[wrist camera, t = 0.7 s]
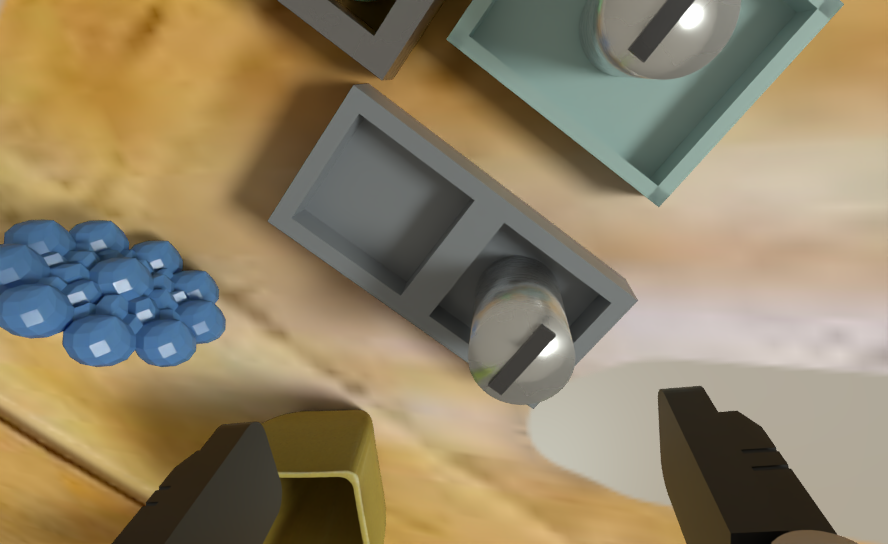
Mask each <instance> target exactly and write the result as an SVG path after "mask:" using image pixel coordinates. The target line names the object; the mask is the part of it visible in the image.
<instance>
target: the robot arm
mask: <svg viewBox="0 0 888 544" xmlns="http://www.w3.org/2000/svg"><path fill="white" fill-rule="evenodd" d="M658 410H659V432H660V453H661V465H662V471H663V477H664V481H665V486H666V489H667V492H668V495H669V498H670V500H671V503H672V506H673V509H674V511H675V514H676V517H677V519H678V522H679V525H680V527H681V530H682V533H683V535H684V538H685V541H686V543H687V544H858V543H856V542H854V541H852V540H849V539H847V538H845V537H842V536H839V535H837V533H836V532H835V531H834V529H833V528H832V526H831V525H830V524H829V522H828V521H827V519H826V518H825V517H824V515H823V514H822V512H821V511H820V509H819V508H818V506H817V505H816V504H815V502H814V501H813V500H812V498H811V497H810V495H809V494H808V492H807V491H806V490H805V488H804V487H803V485H802V484H801V482H800V481H799V479H798V478H797V477H796V475H795V474H794V472H793V471H792V470H791V469H789V468H788V464H787V462H786V461H785V460H784V458H783V457H782V455H781V454H780V452H778V451H777V450H776V447H775V445H774V444H773V442H772V441H771V440H770V438H769V437H768V435H767V434H766V432H765V431H764V430H763V428H762V427H761V426H759V425H758V424H756V423H755V422H753V421H752V420H750V419H749V418H747V417H746V416H744V415H743V414H741V413H740V412H738V411H728V412H718V411H717V410H716V408H715V406H714V405H713V403H712V401H711V400H710V398H709V396H708V395H707V393H706V392H705V390H704V388H703V387H701V386H693V387H682V388H669V389H660V390H659V392H658ZM281 501H282V486H281V481H280V478H279V474H278V471H277V468H276V465H275V461H274V458H273V455H272V452H271V448H270V445H269V442H268V439H267V435H266V432H265V430H264V428H263V426H262V425H261V424H260V423H259V422H247V423H235V424H224V425H221V426H220V427H218V428H217V430H216V431H215V432H214V433H213V435H212V436H211V437H210V438H209V440H208V441H207V442H206V443H205V445H204V446H203V447H202V448H201V450H200V451H196V452H195V453H194V454H192V455H191V456H190V457H188V458H187V459H186V460H184V461H183V462H182V463H180V464H179V465H178V466H176V467H175V468H174V469H173V471H172V472H171V473H170V474H169V475H168V477H167V478H166V479H165V480H164V481H163V483H162V484H161V485H160V486H159V490H156V491H155V492H154V493H153V495H152V496H151V497H150V498H149V499H148V501H147V502H146V506H144V507H142V508H141V509H140V510H139V511H138V513H137V514H136V515H135V516H134V517H133V519H132V520H131V521H130V522H129V524H128V525H127V526H126V527H125V528H124V530H123V531H122V532H121V533H120V534H119V536H118V537H117V538H116V539H115V540H114V542H113V543H112V544H263V542H264V540H265V538H266V536H267V535H268V533H269V531H270V529H271V527H272V525H273V523H274V521H275V519H276V517H277V515H278V513H279V510H280V506H281Z"/></svg>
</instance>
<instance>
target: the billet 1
mask: <svg viewBox="0 0 888 544" xmlns="http://www.w3.org/2000/svg"><path fill="white" fill-rule="evenodd" d="M468 364H469V368H470V371H471V374H472V376H473V378H474V380H475V381H476V383H477V384H478V385H479V386H480V387H481V388H482V389H483V390H484V391H485V392H486V393H487V394H489V395H490V396H492V397H494V398H496V399H498V400H500V401H503V402H506V403H510V404H517V405H527V404H534V403H538V402H541V401H544V400H546V399H548V398H550V397H552V396H554V395H555V394H557V393H558V392H559V391H560V390H561V389H562V388H563V387H564V386H565V385H566V384H567V382H568V381H569V379H570V377H571V375H572V373H573V370H574V366H575V350H574V345H573V341H572V337H571V333H570V329H569V325H568V321H567V317H566V313H565V309H564V305H563V301H562V297H561V293H560V289H559V285H558V282H557V280H556V277H555V276H554V274H553V273H552V271H551V270H550V269H549V268H548V267H547V266H546V265H545V264H543V263H542V262H540V261H538V260H536V259H534V258H530V257H526V256H510V257H505V258H502V259H500V260H498V261H496V262H494V263H493V264H491V265H490V266H489V267H488V268H487V269H486V270H485V271H484V272H483V274H482V275H481V277H480V279H479V281H478V284H477V288H476V295H475V303H474V311H473V318H472V326H471V334H470V342H469V350H468Z"/></svg>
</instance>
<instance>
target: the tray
mask: <svg viewBox="0 0 888 544" xmlns="http://www.w3.org/2000/svg"><path fill="white" fill-rule="evenodd" d="M586 1H587V0H472V2H471V3H470V5H469V6H468V8H467V9H466V11H465V12H464V14H463V15H462V17H461V18H460V20H459V21H458V23H457V24H456V26H455V27H454V29H453V30H452V32H451V33H450V35H449V36H448V38H447V39H446V40H448V41H449V42H450V43H451V44H453V45H454V46H455V47H456V48H458V49H459V50H460V51H462V52H463V53H464V54H465V55H467V56H468V57H469V58H470V59H472V60H473V61H474V62H475V63H477V64H478V65H479V66H481V67H482V68H483V69H484V70H486V71H487V72H488V73H489V74H491V75H492V76H493V77H494V78H496V79H497V80H498V81H500V82H501V83H502V84H503V85H505V86H506V87H507V88H508V89H510V90H511V91H512V92H513V93H515V94H516V95H517V96H519V97H520V98H521V99H522V100H524V101H525V102H526V103H527V104H529V105H530V106H531V107H532V108H534V109H535V110H536V111H538V112H539V113H540V114H541V115H543V116H544V117H545V118H546V119H548V120H549V121H550V122H552V123H553V124H554V125H555V126H557V127H558V128H559V129H560V130H562V131H563V132H564V133H565V134H567V135H568V136H569V137H571V138H572V139H573V140H574V141H576V142H577V143H578V144H579V145H581V146H582V147H583V148H584V149H586V150H587V151H588V152H590V153H591V154H592V155H593V156H595V157H596V158H597V159H598V160H600V161H601V162H602V163H603V164H605V165H606V166H607V167H609V168H610V169H611V170H612V171H614V172H615V173H616V174H617V175H619V176H620V177H621V178H622V179H624V180H625V181H626V182H628V183H629V184H630V185H631V186H633V187H634V188H635V189H636V190H638V191H639V192H640V193H641V194H643V195H644V196H645V197H647V198H648V199H649V200H650V201H652V202H653V203H654V204H655V205H657V206H658V207H660V205H661V204H662V203H663V202H664V201H665V200H666V199H667V198H668V197H669V196H670V194H671V193H672V192H673V191H674V190H675V189H676V188H677V187H678V186H679V185H680V184H681V182H682V181H683V180H684V179H685V178H686V177H687V176H688V175H689V174H690V173H691V171H692V170H693V169H694V168H695V167H696V166H697V165H698V164H699V163H700V162H701V161H702V159H703V158H704V157H705V156H706V155H707V154H708V153H709V152H710V151H711V150H712V148H713V147H714V146H715V145H716V144H717V143H718V142H719V141H720V140H721V139H722V138H723V136H724V135H725V134H726V133H727V132H728V131H729V130H730V129H731V128H732V127H733V125H734V124H735V123H736V122H737V121H738V120H739V119H740V118H741V117H742V116H743V115H744V113H745V112H746V111H747V110H748V109H749V108H750V107H751V106H752V105H753V104H754V102H755V101H756V100H757V99H758V98H759V97H760V96H761V95H762V94H763V93H764V92H765V90H766V89H767V88H768V87H769V86H770V85H771V84H772V83H773V82H774V81H775V79H776V78H777V77H778V76H779V75H780V74H781V73H782V72H783V71H784V70H785V69H786V67H787V66H788V65H789V64H790V63H791V62H792V61H793V60H794V59H795V58H796V57H797V55H798V54H799V53H800V52H801V51H802V50H803V49H804V48H805V47H806V46H807V44H808V43H809V42H810V41H811V40H812V39H813V38H814V37H815V36H816V35H817V34H818V32H819V31H820V30H821V29H822V28H823V27H824V26H825V25H826V24H827V23H828V21H829V20H830V19H831V18H832V17H833V16H834V15H835V14H836V13H837V12H838V11H839V9H840V8H841V7H842V6H843V5H844V4H843V3H842V2H841V1H840V0H741V8H740V13H739V18H738V21H737V24H736V27H735V29H734V32H733V34H732V36H731V38H730V39H729V41H728V43H727V44H726V45H725V47H724V48H723V49H722V51H721V52H720V53H719V54H718V55H717V56H716V57H715V58H714V59H713V60H712V61H711V62H709V63H708V64H707V65H706V66H704V67H703V68H701V69H700V70H698V71H696V72H694V73H692V74H689V75H687V76H684V77H680V78H676V79H668V80H658V79H643V78H628V77H616V76H612V75H609V74H606V73H604V72H602V71H600V70H599V69H597V68H596V67H595V66H594V65H593V64H592V63H591V62H590V61H589V60H588V58H587V57H586V55H585V53H584V51H583V49H582V46H581V43H580V37H579V22H580V17H581V13H582V10H583V7H584V5H585V3H586Z"/></svg>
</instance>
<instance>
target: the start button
mask: <svg viewBox="0 0 888 544" xmlns="http://www.w3.org/2000/svg"><path fill="white" fill-rule="evenodd" d="M354 1H360V2H371V1H376V0H354Z"/></svg>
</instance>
